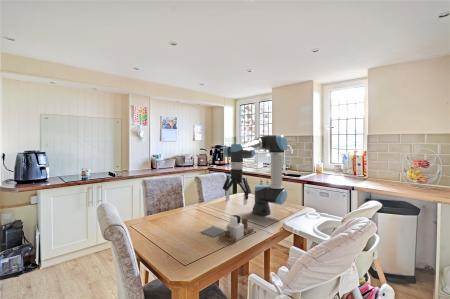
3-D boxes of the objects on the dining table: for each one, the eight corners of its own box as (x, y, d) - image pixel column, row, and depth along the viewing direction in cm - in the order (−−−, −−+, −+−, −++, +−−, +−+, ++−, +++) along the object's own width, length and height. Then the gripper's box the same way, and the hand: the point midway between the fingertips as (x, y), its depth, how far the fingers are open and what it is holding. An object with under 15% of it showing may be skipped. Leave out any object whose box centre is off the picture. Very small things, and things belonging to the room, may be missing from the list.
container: (234, 232, 139) (234, 213, 139) (243, 236, 134) (243, 215, 134) (226, 236, 133) (226, 216, 133) (236, 240, 128) (236, 219, 128)
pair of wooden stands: (240, 227, 147) (240, 215, 146) (253, 231, 140) (253, 219, 140) (218, 239, 129) (218, 225, 129) (231, 244, 123) (231, 230, 122)
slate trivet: (213, 226, 148) (213, 226, 148) (226, 231, 141) (226, 230, 141) (200, 232, 139) (200, 231, 139) (214, 237, 132) (214, 236, 132)
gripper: (217, 167, 137) (217, 200, 137) (250, 170, 121) (249, 207, 121) (224, 166, 142) (224, 198, 143) (257, 169, 127) (256, 205, 127)
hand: (236, 202), depth 132 cm, fingers open, 13 cm apart
